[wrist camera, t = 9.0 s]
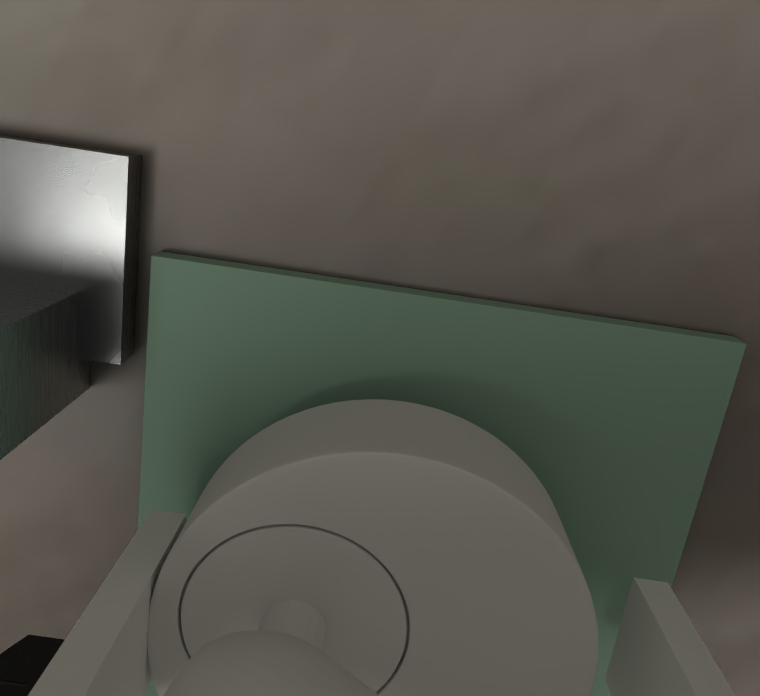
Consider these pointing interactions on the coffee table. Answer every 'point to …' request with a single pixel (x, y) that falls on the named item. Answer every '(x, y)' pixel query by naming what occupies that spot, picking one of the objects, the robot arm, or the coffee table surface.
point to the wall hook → (373, 567)
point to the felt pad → (445, 398)
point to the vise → (62, 274)
